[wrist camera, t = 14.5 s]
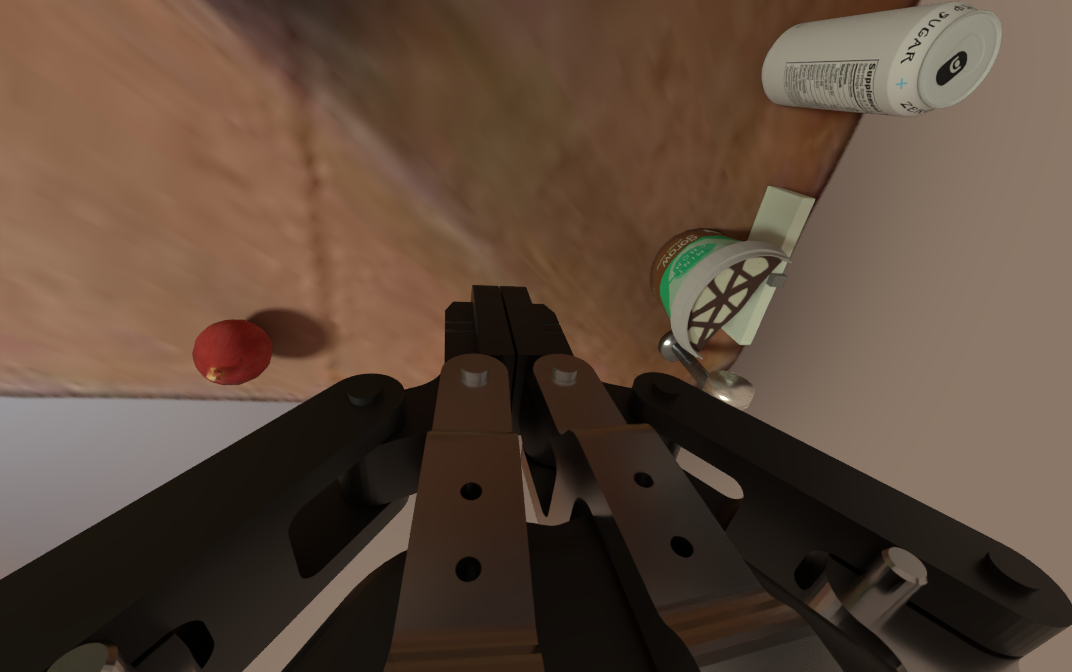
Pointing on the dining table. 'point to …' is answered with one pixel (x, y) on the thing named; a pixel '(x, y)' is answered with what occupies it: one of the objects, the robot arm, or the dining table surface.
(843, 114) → the dining table surface
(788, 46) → the energy drink can
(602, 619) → the robot arm
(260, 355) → the onion
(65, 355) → the dining table surface
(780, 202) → the rail
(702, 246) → the food container
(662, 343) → the post
